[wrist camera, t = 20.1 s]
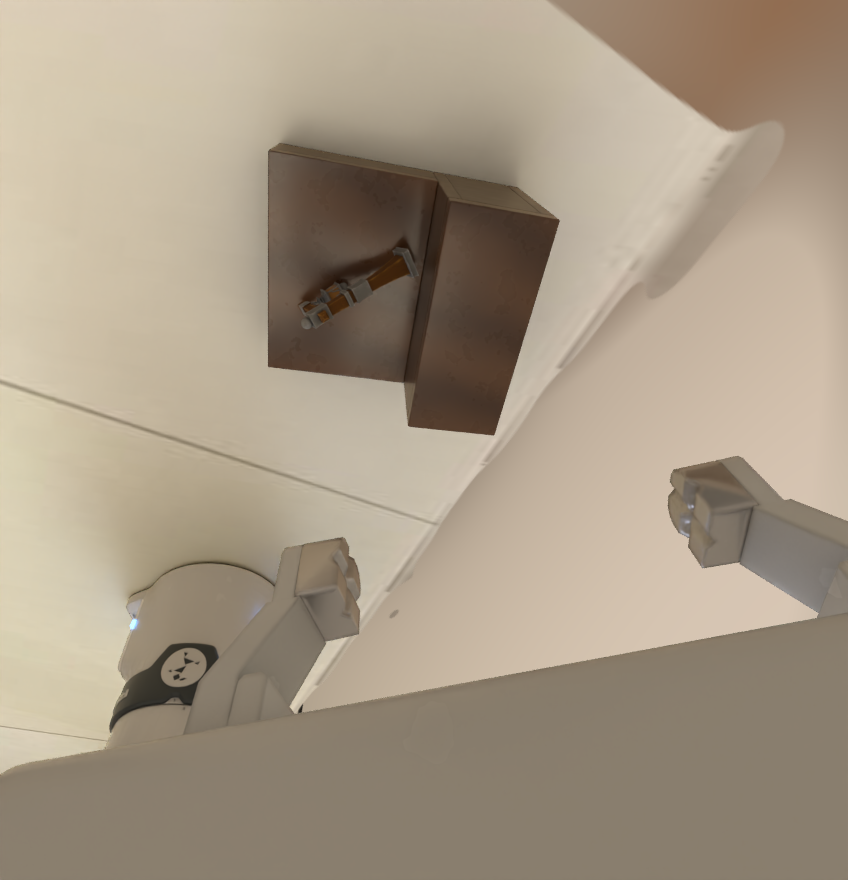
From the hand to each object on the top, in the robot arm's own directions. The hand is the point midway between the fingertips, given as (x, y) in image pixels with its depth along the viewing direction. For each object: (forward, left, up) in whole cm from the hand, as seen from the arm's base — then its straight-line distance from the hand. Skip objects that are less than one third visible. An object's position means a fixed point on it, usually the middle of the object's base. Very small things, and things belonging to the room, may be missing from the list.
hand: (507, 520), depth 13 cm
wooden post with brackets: (-3, +4, -25) cm, 26 cm away
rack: (-3, +2, -29) cm, 29 cm away
